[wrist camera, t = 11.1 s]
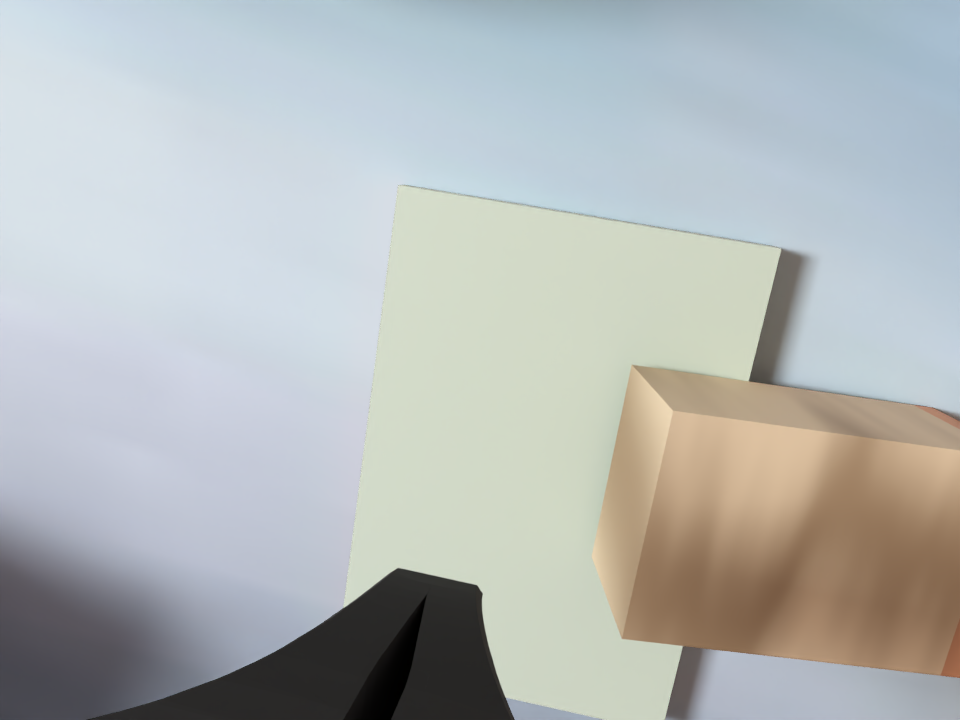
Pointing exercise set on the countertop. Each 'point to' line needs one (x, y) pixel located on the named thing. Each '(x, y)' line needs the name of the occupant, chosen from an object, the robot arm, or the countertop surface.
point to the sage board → (534, 419)
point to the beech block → (783, 523)
